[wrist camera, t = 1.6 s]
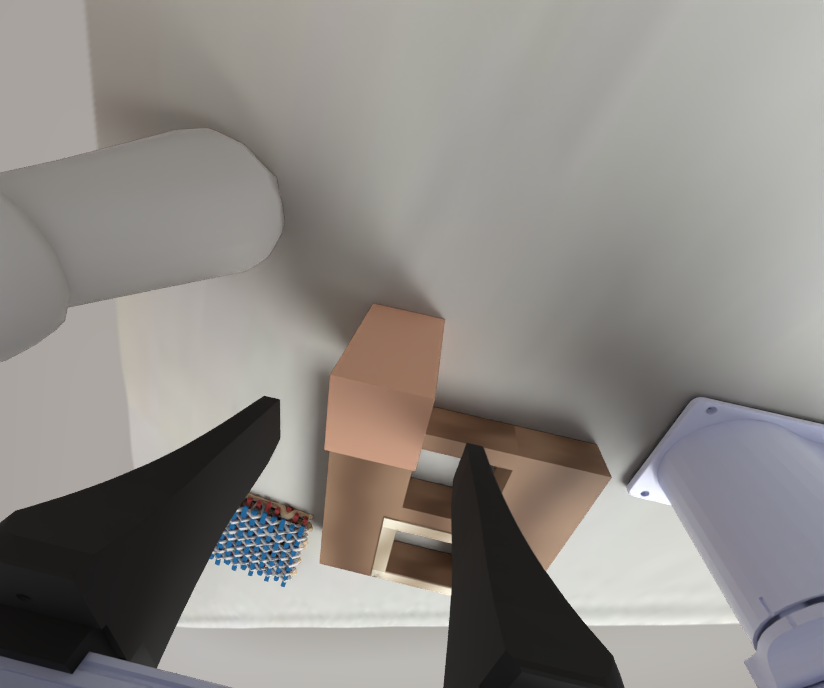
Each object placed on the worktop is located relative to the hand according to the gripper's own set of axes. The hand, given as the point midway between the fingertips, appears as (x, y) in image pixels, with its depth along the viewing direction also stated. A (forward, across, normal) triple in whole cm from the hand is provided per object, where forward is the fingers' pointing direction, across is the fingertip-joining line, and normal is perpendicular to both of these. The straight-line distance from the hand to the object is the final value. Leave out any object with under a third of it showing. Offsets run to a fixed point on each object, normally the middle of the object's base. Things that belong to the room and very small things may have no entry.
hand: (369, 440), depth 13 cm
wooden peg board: (+8, -5, +12) cm, 15 cm away
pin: (+8, 0, 0) cm, 8 cm away
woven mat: (+8, +10, +22) cm, 26 cm away
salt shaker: (+8, +9, -6) cm, 13 cm away
